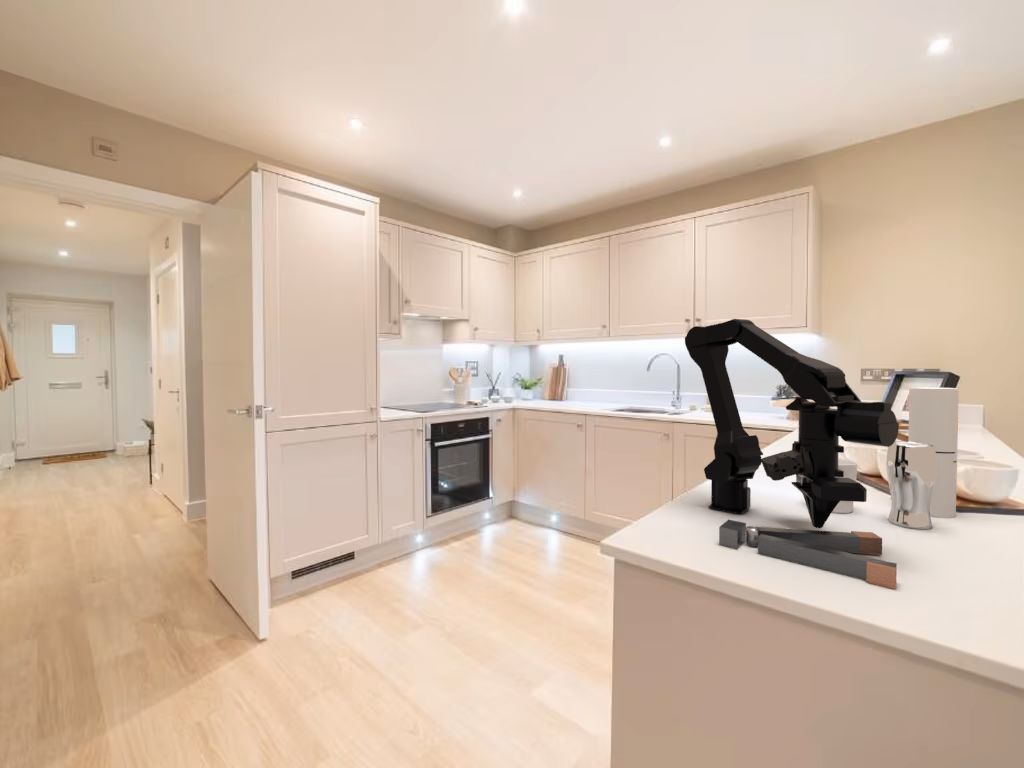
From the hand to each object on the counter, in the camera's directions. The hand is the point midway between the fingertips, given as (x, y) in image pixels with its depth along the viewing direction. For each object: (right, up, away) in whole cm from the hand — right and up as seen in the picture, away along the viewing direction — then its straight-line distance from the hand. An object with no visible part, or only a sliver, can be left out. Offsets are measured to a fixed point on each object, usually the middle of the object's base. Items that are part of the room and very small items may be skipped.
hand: (817, 527), depth 77 cm
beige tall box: (+32, -1, +12) cm, 34 cm away
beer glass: (+21, -1, +6) cm, 22 cm away
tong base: (-9, -2, -9) cm, 13 cm away
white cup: (+14, -1, +15) cm, 21 cm away
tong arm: (-5, -2, -5) cm, 7 cm away
